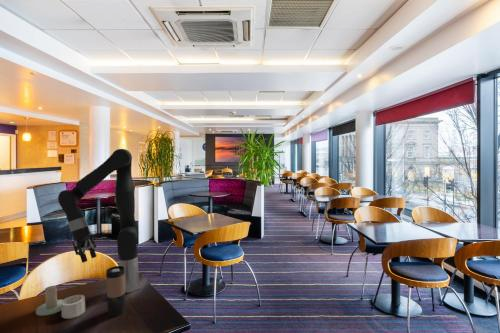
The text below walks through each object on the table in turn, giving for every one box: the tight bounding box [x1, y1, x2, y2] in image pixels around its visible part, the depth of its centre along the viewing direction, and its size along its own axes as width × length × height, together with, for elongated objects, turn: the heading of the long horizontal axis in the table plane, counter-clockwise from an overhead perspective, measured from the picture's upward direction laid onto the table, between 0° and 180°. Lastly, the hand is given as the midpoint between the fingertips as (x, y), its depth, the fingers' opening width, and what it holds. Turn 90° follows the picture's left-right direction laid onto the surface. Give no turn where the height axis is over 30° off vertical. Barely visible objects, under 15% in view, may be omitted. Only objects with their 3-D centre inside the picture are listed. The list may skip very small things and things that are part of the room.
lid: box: [35, 285, 64, 317], centre depth 129 cm, size 12×12×10 cm
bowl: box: [60, 294, 86, 320], centre depth 125 cm, size 9×9×6 cm
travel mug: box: [105, 265, 126, 317], centre depth 125 cm, size 8×8×20 cm
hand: (89, 259), depth 134 cm, fingers open, 8 cm apart
